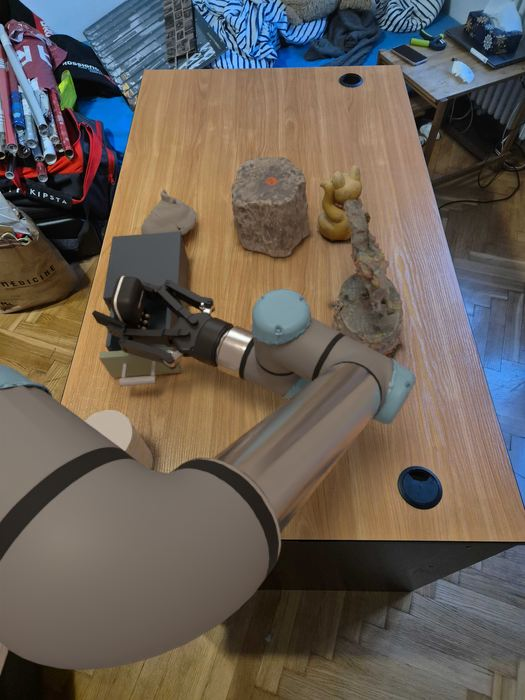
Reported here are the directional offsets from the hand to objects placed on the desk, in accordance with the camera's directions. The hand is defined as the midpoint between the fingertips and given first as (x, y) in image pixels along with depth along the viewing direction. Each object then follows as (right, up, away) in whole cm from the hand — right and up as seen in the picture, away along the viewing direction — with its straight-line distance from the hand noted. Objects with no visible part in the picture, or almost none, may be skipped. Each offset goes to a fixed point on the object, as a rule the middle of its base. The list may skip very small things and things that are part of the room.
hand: (110, 299), depth 80 cm
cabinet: (+4, +3, +15) cm, 16 cm away
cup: (+4, -27, -4) cm, 28 cm away
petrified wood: (+28, +18, +24) cm, 41 cm away
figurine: (+46, -3, +9) cm, 47 cm away
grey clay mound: (+6, +18, +24) cm, 31 cm away
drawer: (+5, -9, +6) cm, 12 cm away
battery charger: (+5, -5, +4) cm, 8 cm away
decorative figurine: (+43, +17, +22) cm, 51 cm away
